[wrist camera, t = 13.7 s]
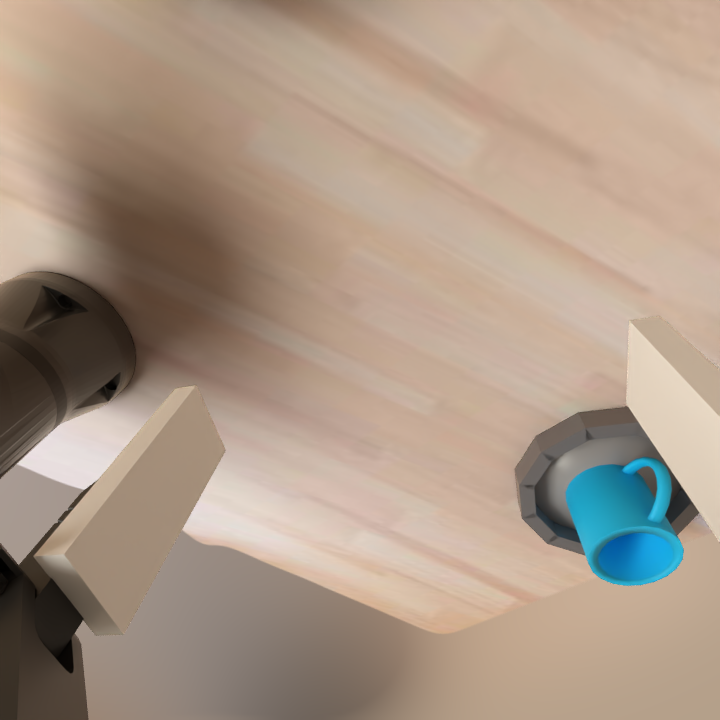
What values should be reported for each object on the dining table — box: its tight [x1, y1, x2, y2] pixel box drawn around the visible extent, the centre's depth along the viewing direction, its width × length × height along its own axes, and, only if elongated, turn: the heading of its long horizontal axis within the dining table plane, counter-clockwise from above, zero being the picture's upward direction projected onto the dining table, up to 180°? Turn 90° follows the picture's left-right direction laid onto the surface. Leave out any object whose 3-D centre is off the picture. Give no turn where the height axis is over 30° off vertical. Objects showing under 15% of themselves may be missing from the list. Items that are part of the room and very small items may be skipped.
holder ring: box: [515, 407, 699, 555], centre depth 50 cm, size 18×18×2 cm
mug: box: [566, 457, 684, 586], centre depth 47 cm, size 12×8×8 cm
